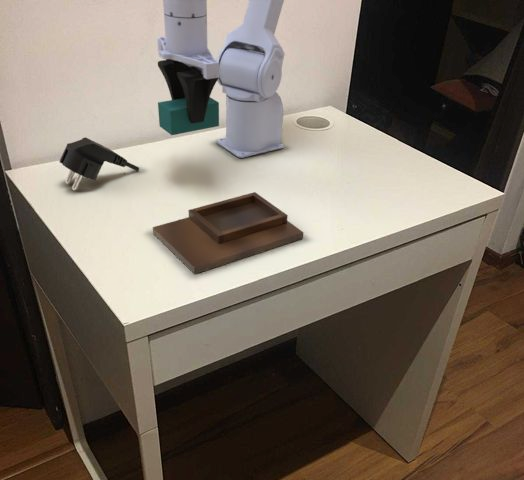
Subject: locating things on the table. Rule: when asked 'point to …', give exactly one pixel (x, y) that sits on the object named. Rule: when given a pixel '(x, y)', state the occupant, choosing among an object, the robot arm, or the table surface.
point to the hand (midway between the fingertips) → (189, 116)
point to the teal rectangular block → (185, 116)
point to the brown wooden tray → (227, 232)
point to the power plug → (89, 160)
